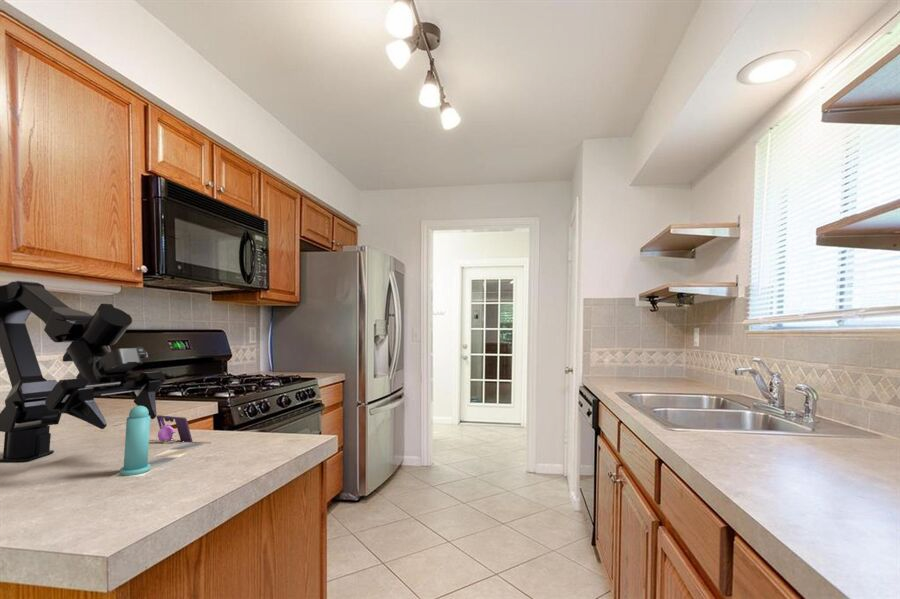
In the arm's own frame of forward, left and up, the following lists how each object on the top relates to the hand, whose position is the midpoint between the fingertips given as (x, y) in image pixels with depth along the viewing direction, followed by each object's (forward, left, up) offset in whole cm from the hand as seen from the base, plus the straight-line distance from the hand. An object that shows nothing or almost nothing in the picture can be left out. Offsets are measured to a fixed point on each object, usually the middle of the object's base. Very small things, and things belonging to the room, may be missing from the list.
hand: (130, 422), depth 81 cm
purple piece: (-5, +23, -10) cm, 25 cm away
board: (+1, +8, -10) cm, 13 cm away
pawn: (+2, -1, -9) cm, 9 cm away
